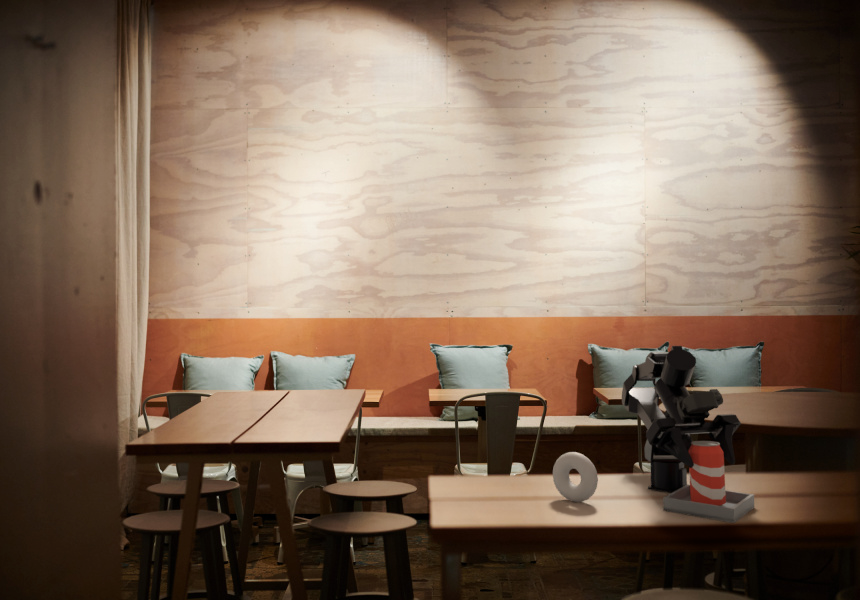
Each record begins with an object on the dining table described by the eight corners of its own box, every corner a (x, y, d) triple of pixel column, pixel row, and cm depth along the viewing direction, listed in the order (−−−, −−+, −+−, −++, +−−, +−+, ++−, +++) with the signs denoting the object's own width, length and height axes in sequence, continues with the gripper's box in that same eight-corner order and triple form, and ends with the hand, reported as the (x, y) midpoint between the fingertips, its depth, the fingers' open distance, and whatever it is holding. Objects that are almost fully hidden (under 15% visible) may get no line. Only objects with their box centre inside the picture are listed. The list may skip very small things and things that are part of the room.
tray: (663, 510, 133) (663, 497, 133) (687, 496, 143) (687, 484, 143) (734, 523, 125) (733, 509, 125) (754, 507, 134) (754, 494, 135)
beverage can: (711, 511, 130) (708, 446, 130) (684, 503, 135) (681, 442, 136) (732, 506, 132) (729, 443, 133) (705, 499, 138) (702, 439, 139)
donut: (601, 504, 138) (600, 454, 138) (592, 507, 135) (592, 456, 136) (558, 495, 145) (558, 447, 145) (549, 498, 142) (548, 450, 142)
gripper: (652, 377, 136) (688, 443, 125) (733, 374, 141) (774, 437, 130) (631, 412, 143) (664, 477, 132) (709, 408, 148) (746, 470, 137)
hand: (713, 465), depth 133 cm, fingers open, 9 cm apart
